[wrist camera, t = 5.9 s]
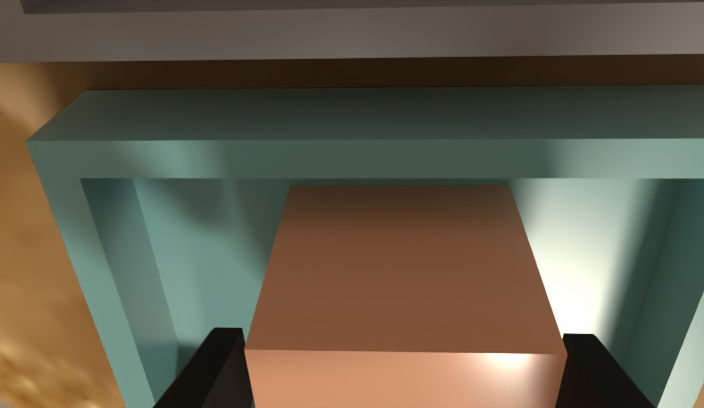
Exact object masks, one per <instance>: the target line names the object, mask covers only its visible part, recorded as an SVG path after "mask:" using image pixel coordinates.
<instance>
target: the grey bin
mask: <svg viewBox="0 0 704 408" xmlns="http://www.w3.org/2000/svg"><path fill="white" fill-rule="evenodd" d="M634 54H704V0H0V63H5V62H84V61H163V60H241V59H320V58H398V57H477V56H555V55H634Z"/></svg>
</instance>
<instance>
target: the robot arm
mask: <svg viewBox="0 0 704 408" xmlns="http://www.w3.org/2000/svg"><path fill="white" fill-rule="evenodd" d="M562 340H563V342H564V345H565V348H566V351H567V354H568V355H567V359H566V363H565V368H564V372H563V376H562V380H561V384H560V388H559V393H558V397H557V401H556V405H555V408H655V406H654V405H653V404H652V403H651V402H650V401H649V400H648V398H647V397H646V396H645V395H644V394H643V393H642V391H641V390H640V389H639V388H638V387H637V385H636V384H635V383H634V382H633V381H632V379H631V378H630V377H629V376H628V375H627V373H626V372H625V371H624V370H623V368H622V367H621V366H620V365H619V364H618V362H617V361H616V360H615V359H614V357H613V356H612V355H611V354H610V352H609V351H608V350H607V349H606V347H605V346H604V345H603V344H602V342H601V341H600V340H599V339H598V338H597V337H596V336H595V335H594V334H578V333H564V334H563V338H562ZM244 348H245V339H244V334H243V329H242V328H227V327H214V328H213V329H212V330H211V331H210V332H209V334H208V335H207V336H206V338H205V339H204V341H203V342H202V343H201V345H200V346H199V348H198V349H197V350H196V352H195V353H194V355H193V356H192V357H191V359H190V360H189V361H188V363H187V364H186V365H185V367H184V368H183V369H182V371H181V372H180V373H179V375H178V376H177V377H176V379H175V380H174V381H173V382H172V384H171V385H170V386H169V387H168V389H167V390H166V391H165V392H164V394H163V395H162V396H161V397H160V399H159V400H158V401H157V402H156V404H155V405H154V406H153V407H152V408H252V402H253V392H252V387H251V382H250V377H249V372H248V367H247V362H246V357H245V352H244Z"/></svg>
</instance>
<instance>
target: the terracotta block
mask: <svg viewBox="0 0 704 408" xmlns="http://www.w3.org/2000/svg"><path fill="white" fill-rule="evenodd" d="M244 352H245V357H246V362H247V367H248V372H249V377H250V382H251V387H252V392H253V397H254V402H255V407H256V408H555V405H556V401H557V397H558V393H559V388H560V384H561V380H562V376H563V372H564V368H565V363H566V359H567V355H568V354H567V351H566V348H565V345H564V342H563V340H562V337H561V334H560V331H559V328H558V325H557V322H556V319H555V316H554V313H553V310H552V307H551V304H550V302H549V299H548V296H547V293H546V290H545V287H544V284H543V281H542V278H541V275H540V272H539V269H538V266H537V263H536V261H535V258H534V255H533V252H532V249H531V246H530V243H529V240H528V237H527V234H526V231H525V228H524V225H523V223H522V220H521V217H520V214H519V211H518V208H517V205H516V202H515V199H514V196H513V193H512V190H511V187H510V185H398V186H290V188H289V191H288V195H287V198H286V202H285V205H284V209H283V213H282V216H281V220H280V223H279V227H278V230H277V234H276V238H275V241H274V245H273V248H272V252H271V255H270V259H269V262H268V266H267V270H266V273H265V277H264V280H263V284H262V287H261V291H260V295H259V298H258V302H257V305H256V309H255V312H254V316H253V320H252V323H251V327H250V330H249V334H248V337H247V341H246V344H245V348H244Z"/></svg>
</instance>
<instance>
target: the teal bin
mask: <svg viewBox="0 0 704 408" xmlns="http://www.w3.org/2000/svg"><path fill="white" fill-rule="evenodd" d="M26 144H27V147H28V149H29V152H30V154H31V157H32V160H33V162H34V165H35V168H36V170H37V173H38V176H39V178H40V181H41V183H42V186H43V189H44V191H45V194H46V197H47V199H48V202H49V204H50V207H51V210H52V212H53V215H54V218H55V220H56V223H57V226H58V228H59V231H60V233H61V236H62V239H63V241H64V244H65V247H66V249H67V252H68V255H69V257H70V260H71V262H72V265H73V268H74V270H75V273H76V276H77V278H78V281H79V283H80V286H81V289H82V291H83V294H84V297H85V299H86V302H87V305H88V307H89V310H90V312H91V315H92V318H93V320H94V323H95V326H96V328H97V331H98V334H99V336H100V339H101V341H102V344H103V347H104V349H105V352H106V355H107V357H108V360H109V363H110V365H111V368H112V370H113V373H114V376H115V378H116V381H117V384H118V386H119V389H120V391H121V394H122V397H123V399H124V402H125V405H126V407H127V408H152V407H153V406H154V405H155V404H156V402H157V401H158V400H159V399H160V397H161V396H162V395H163V394H164V392H165V391H166V390H167V389H168V387H169V386H170V385H171V384H172V382H173V381H174V380H175V379H176V377H177V376H178V375H179V373H180V372H181V371H182V369H183V368H184V367H185V365H186V364H187V363H188V361H189V360H190V359H191V357H192V356H193V355H194V353H195V352H196V350H197V349H198V348H199V346H200V345H201V343H202V342H203V341H204V339H205V338H206V336H207V335H208V334H209V332H210V331H211V330H212V329H213V328H214V327H227V328H242V329H243V334H244V339H245V344H246V341H247V337H248V334H249V330H250V327H251V323H252V320H253V316H254V312H255V309H256V305H257V302H258V298H259V295H260V291H261V287H262V284H263V280H264V277H265V273H266V270H267V266H268V262H269V259H270V255H271V252H272V248H273V245H274V241H275V238H276V234H277V230H278V227H279V223H280V220H281V216H282V213H283V209H284V205H285V202H286V198H287V195H288V191H289V188H290V186H398V185H510V187H511V190H512V193H513V196H514V199H515V202H516V205H517V208H518V211H519V214H520V217H521V220H522V223H523V225H524V228H525V231H526V234H527V237H528V240H529V243H530V246H531V249H532V252H533V255H534V258H535V261H536V263H537V266H538V269H539V272H540V275H541V278H542V281H543V284H544V287H545V290H546V293H547V296H548V299H549V302H550V304H551V307H552V310H553V313H554V316H555V319H556V322H557V325H558V328H559V331H560V334H561V337H562V338H563V334H564V333H578V334H594V335H595V336H596V337H597V338H598V339H599V340H600V341H601V342H602V344H603V345H604V346H605V347H606V349H607V350H608V351H609V352H610V354H611V355H612V356H613V357H614V359H615V360H616V361H617V362H618V364H619V365H620V366H621V367H622V368H623V370H624V371H625V372H626V373H627V375H628V376H629V377H630V378H631V379H632V381H633V382H634V383H635V384H636V385H637V387H638V388H639V389H640V390H641V391H642V393H643V394H644V395H645V396H646V397H647V398H648V400H649V401H650V402H651V403H652V404H653V405H654V406H655V408H692V407H693V405H694V403H695V401H696V398H697V396H698V394H699V392H700V389H701V387H702V385H703V383H704V84H703V85H597V86H491V87H386V88H280V89H174V90H85V91H84V92H83V93H81V94H80V95H79V96H78V97H77V98H76V99H74V100H73V101H72V102H71V103H70V104H68V105H67V106H66V107H65V108H64V109H63V110H61V111H60V112H59V113H58V114H57V115H56V116H54V117H53V118H52V119H51V120H50V121H48V122H47V123H46V124H45V125H44V126H43V127H41V128H40V129H39V130H38V131H37V132H35V133H34V134H33V135H32V136H31V137H30V138H28V139H27V140H26ZM252 408H256V407H255V402H254V397H253V402H252Z"/></svg>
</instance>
